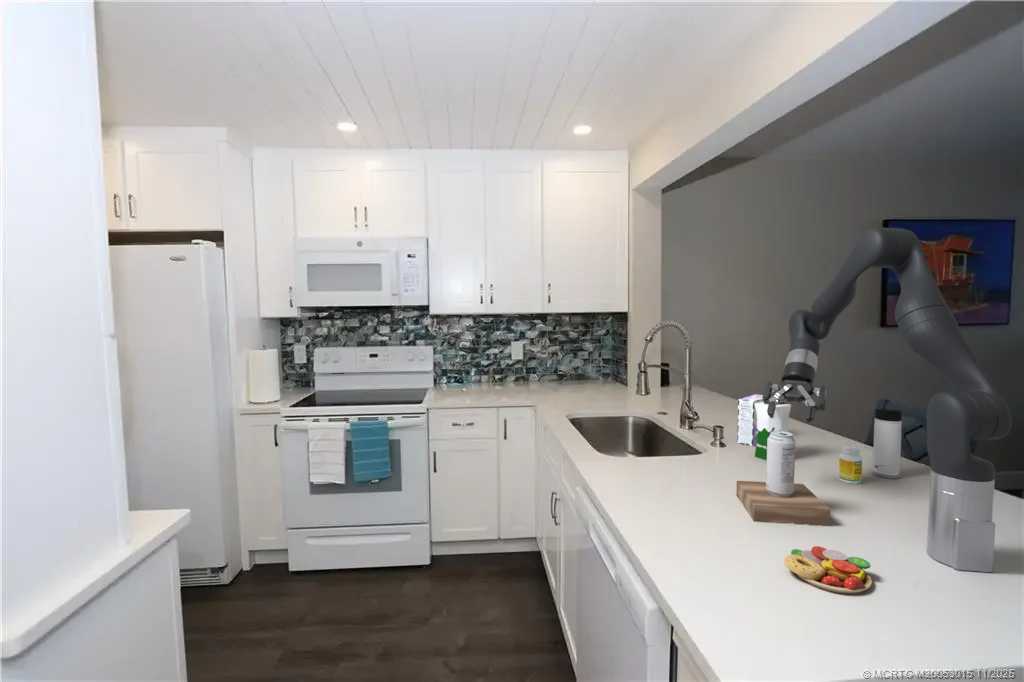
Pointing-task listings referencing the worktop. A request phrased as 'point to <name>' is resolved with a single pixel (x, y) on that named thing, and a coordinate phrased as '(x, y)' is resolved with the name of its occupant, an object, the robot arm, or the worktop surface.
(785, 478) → the energy drink can
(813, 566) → the toy food set
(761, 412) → the milk carton
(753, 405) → the candy box
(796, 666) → the worktop surface
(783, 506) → the walnut base
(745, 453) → the worktop surface
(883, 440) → the travel mug
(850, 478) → the supplement bottle
